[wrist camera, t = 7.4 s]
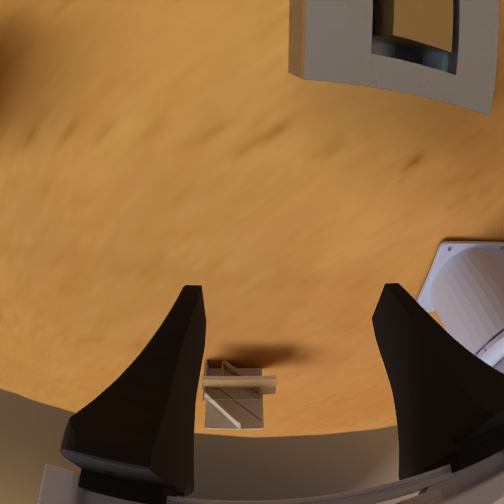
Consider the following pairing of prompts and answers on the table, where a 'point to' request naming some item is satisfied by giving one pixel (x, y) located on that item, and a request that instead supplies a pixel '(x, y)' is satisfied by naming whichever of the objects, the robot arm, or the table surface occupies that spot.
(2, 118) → the table surface
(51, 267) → the table surface
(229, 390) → the architectural model
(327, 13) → the grey square frame
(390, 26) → the tan wooden block
